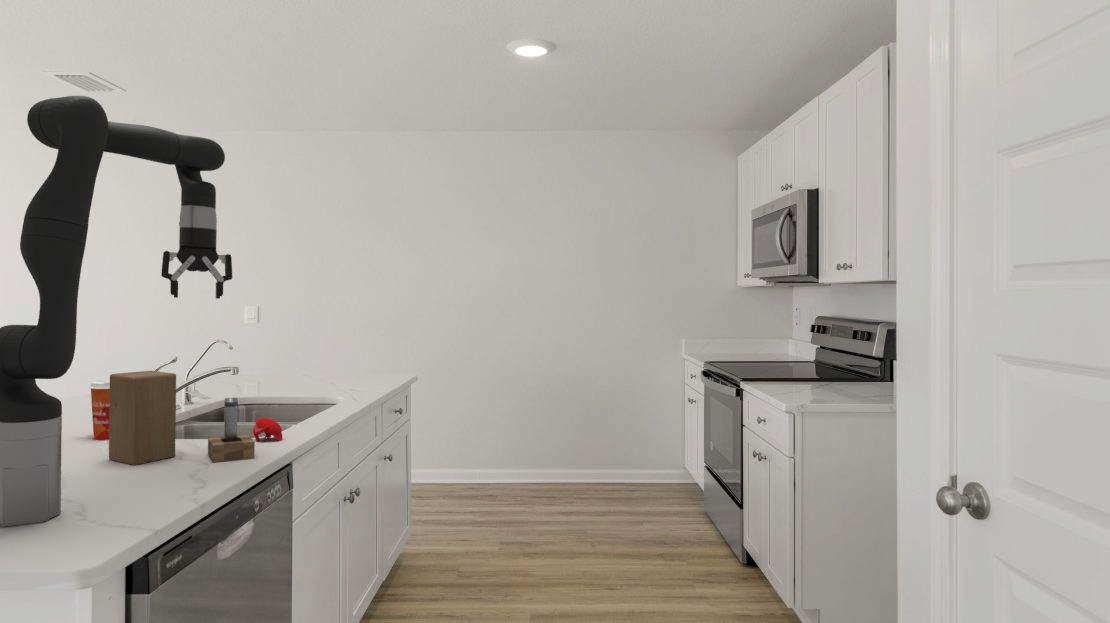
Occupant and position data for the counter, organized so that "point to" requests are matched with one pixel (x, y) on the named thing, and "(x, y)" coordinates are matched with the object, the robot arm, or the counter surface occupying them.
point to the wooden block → (142, 416)
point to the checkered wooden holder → (231, 448)
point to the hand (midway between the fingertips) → (197, 298)
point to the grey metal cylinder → (230, 419)
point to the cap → (267, 428)
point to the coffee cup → (100, 409)
